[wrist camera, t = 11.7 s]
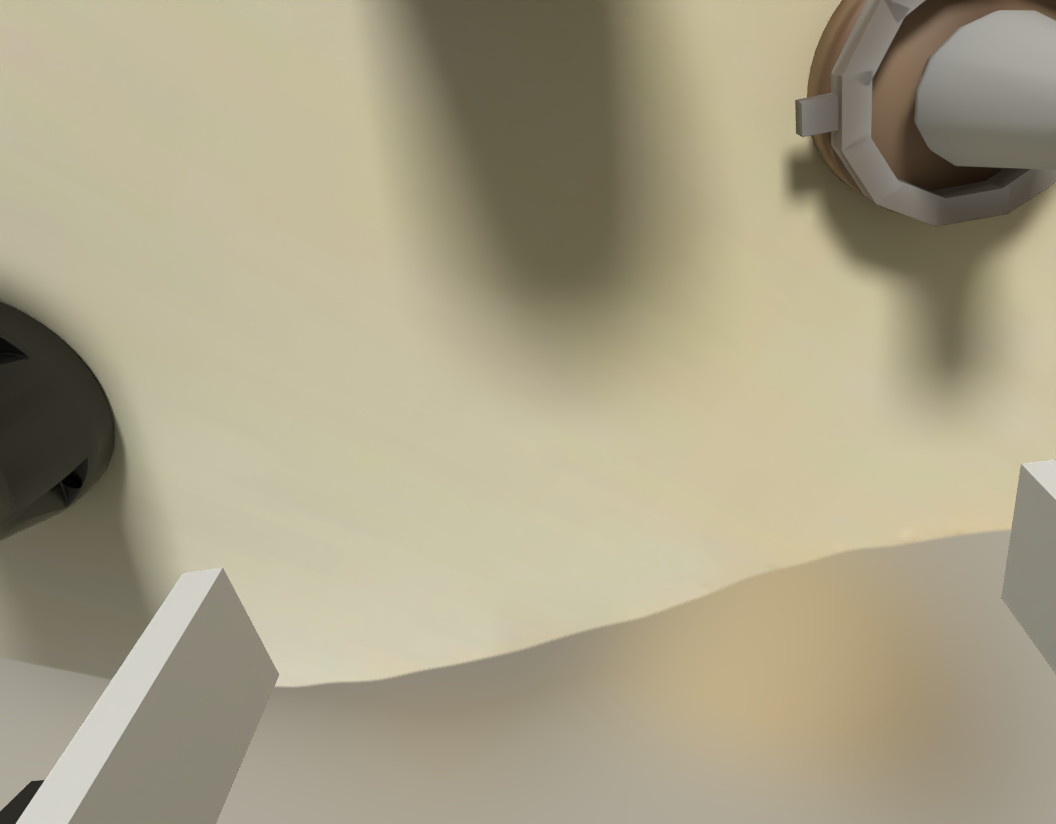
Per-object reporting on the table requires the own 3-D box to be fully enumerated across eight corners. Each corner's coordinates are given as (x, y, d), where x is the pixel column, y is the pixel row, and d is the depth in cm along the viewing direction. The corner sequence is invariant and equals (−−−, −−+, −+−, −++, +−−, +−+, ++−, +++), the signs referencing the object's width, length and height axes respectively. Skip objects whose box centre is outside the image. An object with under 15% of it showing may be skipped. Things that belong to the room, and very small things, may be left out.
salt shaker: (947, 182, 33) (1139, 278, 22) (865, 96, 32) (1028, 152, 21) (1066, 73, 31) (1350, 118, 20) (984, -26, 29) (1242, -38, 18)
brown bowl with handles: (783, 226, 38) (807, 252, 34) (774, -32, 32) (802, -35, 28) (1081, 172, 36) (1144, 194, 32) (1127, -112, 30) (1210, -128, 26)
